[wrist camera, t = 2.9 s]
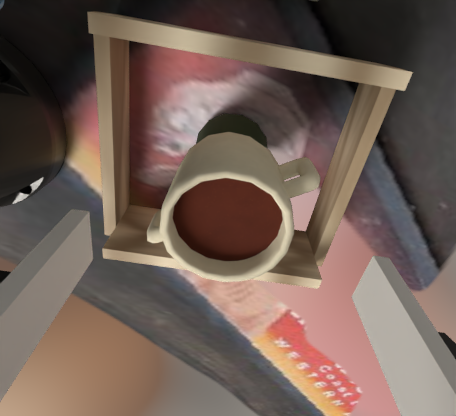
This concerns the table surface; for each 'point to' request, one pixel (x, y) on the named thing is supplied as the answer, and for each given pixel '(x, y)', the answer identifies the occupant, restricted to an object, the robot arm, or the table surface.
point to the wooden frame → (248, 52)
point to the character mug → (231, 203)
